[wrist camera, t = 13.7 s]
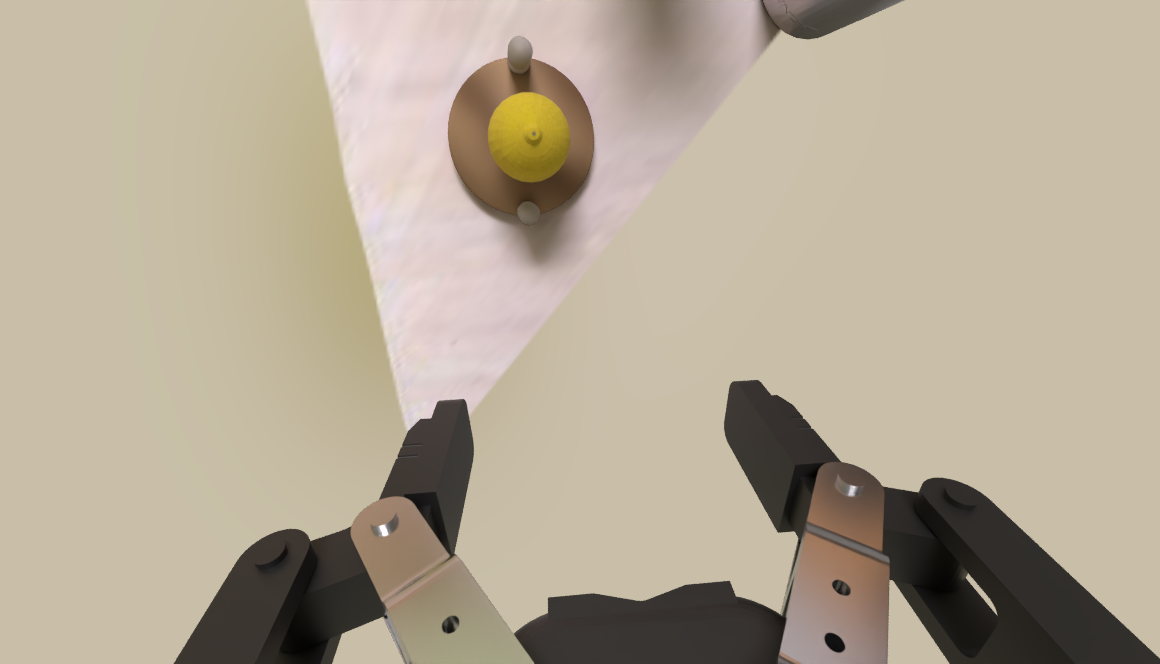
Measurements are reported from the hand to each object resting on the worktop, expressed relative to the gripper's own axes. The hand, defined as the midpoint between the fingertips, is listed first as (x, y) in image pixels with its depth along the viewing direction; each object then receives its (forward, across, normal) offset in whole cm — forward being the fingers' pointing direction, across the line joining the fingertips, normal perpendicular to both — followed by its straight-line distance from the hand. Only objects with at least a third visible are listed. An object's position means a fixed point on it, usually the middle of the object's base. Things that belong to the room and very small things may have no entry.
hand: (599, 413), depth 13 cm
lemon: (+26, +3, -6) cm, 27 cm away
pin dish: (+27, +3, -6) cm, 28 cm away
